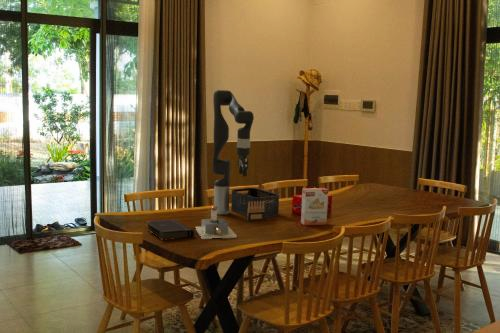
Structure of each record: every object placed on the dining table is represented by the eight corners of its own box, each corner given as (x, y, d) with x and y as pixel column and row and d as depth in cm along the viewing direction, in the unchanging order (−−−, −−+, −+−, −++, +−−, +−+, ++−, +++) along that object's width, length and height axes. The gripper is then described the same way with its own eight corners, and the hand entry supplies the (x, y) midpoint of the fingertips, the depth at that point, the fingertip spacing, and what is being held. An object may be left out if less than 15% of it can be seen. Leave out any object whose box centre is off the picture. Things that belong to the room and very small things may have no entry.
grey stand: (195, 228, 309) (195, 218, 308) (227, 227, 313) (227, 217, 312) (202, 239, 288) (202, 228, 287) (236, 237, 292) (236, 227, 291)
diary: (176, 227, 313) (176, 218, 313) (194, 238, 292) (194, 229, 291) (144, 230, 304) (144, 221, 304) (160, 241, 283) (160, 232, 282)
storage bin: (280, 215, 346) (281, 194, 344) (255, 219, 335) (256, 197, 333) (253, 207, 369) (254, 187, 367) (228, 210, 358) (229, 189, 356)
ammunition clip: (247, 221, 329) (248, 201, 327) (246, 220, 331) (247, 200, 329) (264, 220, 333) (265, 200, 331) (263, 219, 334) (264, 199, 333)
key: (209, 230, 302) (209, 207, 300) (212, 228, 305) (212, 205, 304) (216, 230, 300) (216, 207, 299) (218, 229, 304) (219, 206, 302)
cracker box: (304, 226, 321) (305, 189, 318) (300, 223, 327) (301, 188, 324) (327, 225, 325) (328, 189, 322) (323, 222, 331) (324, 187, 328)
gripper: (234, 145, 323) (233, 173, 325) (239, 147, 309) (239, 177, 312) (246, 145, 325) (246, 173, 327) (253, 147, 311) (252, 176, 314)
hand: (242, 175), depth 319 cm, fingers open, 8 cm apart
